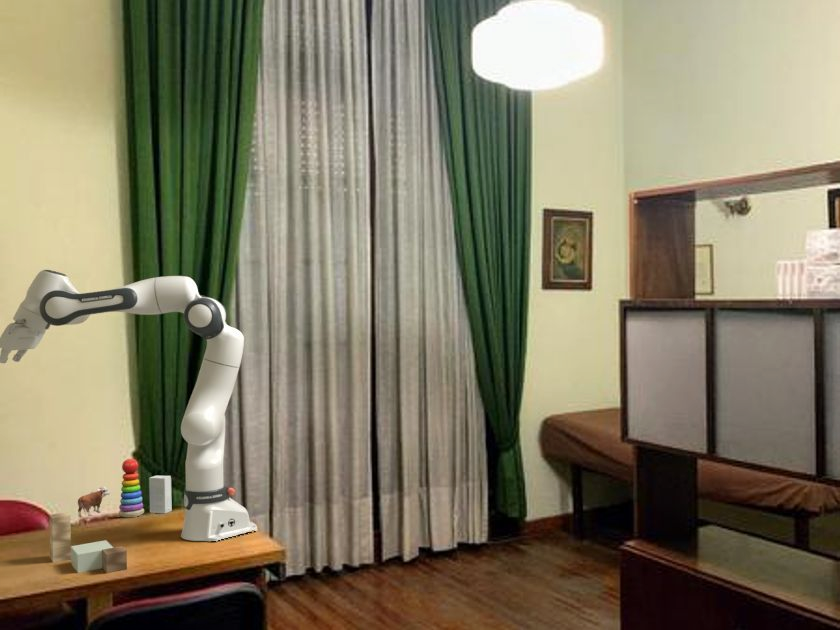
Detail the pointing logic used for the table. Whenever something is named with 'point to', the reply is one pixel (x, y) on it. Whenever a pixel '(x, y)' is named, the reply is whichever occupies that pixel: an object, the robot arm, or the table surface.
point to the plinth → (88, 556)
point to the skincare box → (160, 494)
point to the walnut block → (114, 559)
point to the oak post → (60, 537)
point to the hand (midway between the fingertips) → (8, 361)
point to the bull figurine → (92, 501)
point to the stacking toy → (130, 491)
